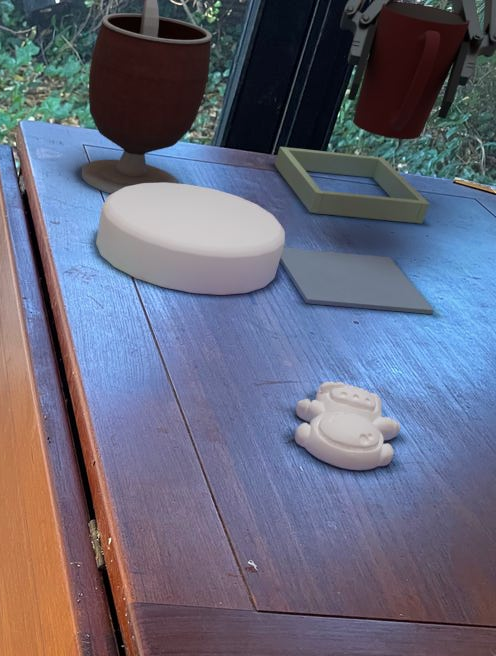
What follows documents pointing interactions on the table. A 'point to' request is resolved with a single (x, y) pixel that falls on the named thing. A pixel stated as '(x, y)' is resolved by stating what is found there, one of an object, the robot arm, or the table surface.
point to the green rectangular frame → (397, 208)
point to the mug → (407, 68)
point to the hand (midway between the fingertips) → (399, 100)
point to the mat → (352, 281)
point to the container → (190, 238)
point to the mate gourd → (144, 91)
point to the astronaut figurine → (346, 427)
